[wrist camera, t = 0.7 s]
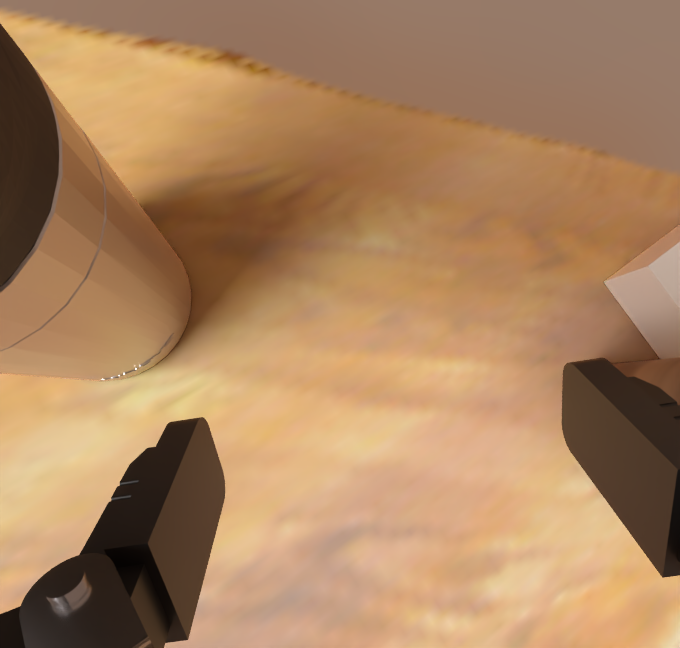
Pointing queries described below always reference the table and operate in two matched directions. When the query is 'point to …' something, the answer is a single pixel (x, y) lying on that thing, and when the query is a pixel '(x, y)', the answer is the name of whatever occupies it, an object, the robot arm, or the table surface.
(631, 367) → the pepper mill
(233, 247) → the table surface
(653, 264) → the riser block
